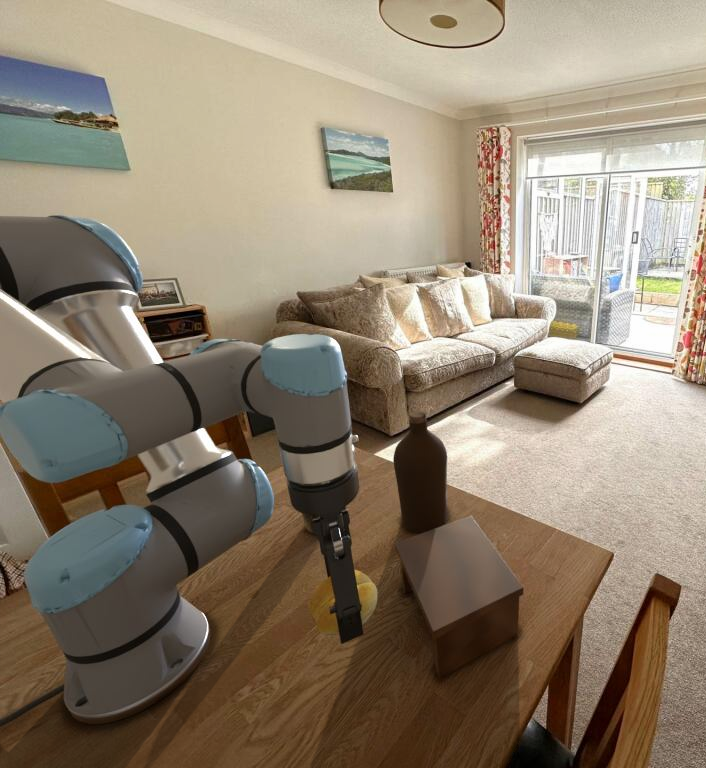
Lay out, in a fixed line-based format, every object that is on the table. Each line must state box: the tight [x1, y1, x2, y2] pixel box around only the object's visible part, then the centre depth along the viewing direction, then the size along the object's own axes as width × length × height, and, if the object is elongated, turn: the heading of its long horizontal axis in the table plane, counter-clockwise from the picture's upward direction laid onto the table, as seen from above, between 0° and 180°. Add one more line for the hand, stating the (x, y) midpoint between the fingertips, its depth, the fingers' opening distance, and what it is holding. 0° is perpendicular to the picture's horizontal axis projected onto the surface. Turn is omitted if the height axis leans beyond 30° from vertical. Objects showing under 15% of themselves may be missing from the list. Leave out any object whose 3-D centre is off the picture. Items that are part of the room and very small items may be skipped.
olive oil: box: [392, 410, 448, 533], centre depth 83 cm, size 11×11×25 cm
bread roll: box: [309, 569, 378, 636], centre depth 55 cm, size 8×9×4 cm
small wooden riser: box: [394, 515, 524, 679], centre depth 65 cm, size 14×18×10 cm
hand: (345, 606), depth 55 cm, fingers closed on bread roll, 9 cm apart
